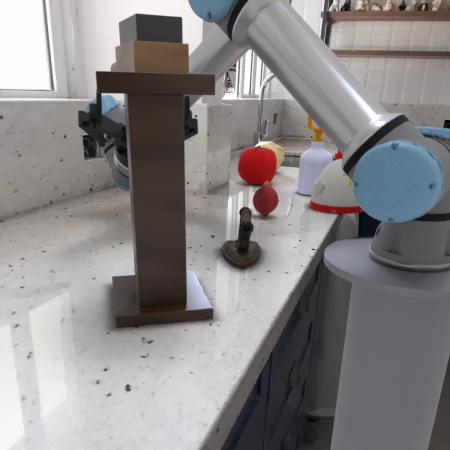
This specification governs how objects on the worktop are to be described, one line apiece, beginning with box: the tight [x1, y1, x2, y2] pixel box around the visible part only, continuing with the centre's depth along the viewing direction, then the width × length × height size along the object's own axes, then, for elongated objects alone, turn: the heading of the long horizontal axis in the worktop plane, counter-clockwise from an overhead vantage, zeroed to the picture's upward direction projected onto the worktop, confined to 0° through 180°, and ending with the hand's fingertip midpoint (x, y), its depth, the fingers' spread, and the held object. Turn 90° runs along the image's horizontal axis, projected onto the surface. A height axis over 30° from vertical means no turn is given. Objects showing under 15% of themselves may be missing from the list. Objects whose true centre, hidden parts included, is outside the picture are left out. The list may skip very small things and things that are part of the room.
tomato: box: [237, 145, 277, 186], centre depth 150 cm, size 12×13×12 cm
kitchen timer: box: [309, 149, 365, 215], centre depth 119 cm, size 14×14×15 cm
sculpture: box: [253, 140, 286, 172], centre depth 172 cm, size 12×12×11 cm
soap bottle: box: [297, 114, 334, 197], centre depth 134 cm, size 9×9×25 cm
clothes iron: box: [221, 206, 262, 270], centre depth 81 cm, size 7×11×10 cm, turn 0°
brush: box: [110, 13, 190, 73], centre depth 60 cm, size 23×6×6 cm, turn 24°
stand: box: [95, 70, 216, 328], centre depth 60 cm, size 14×12×28 cm
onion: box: [252, 181, 280, 217], centre depth 110 cm, size 6×6×8 cm
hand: (144, 101), depth 75 cm, fingers open, 13 cm apart
